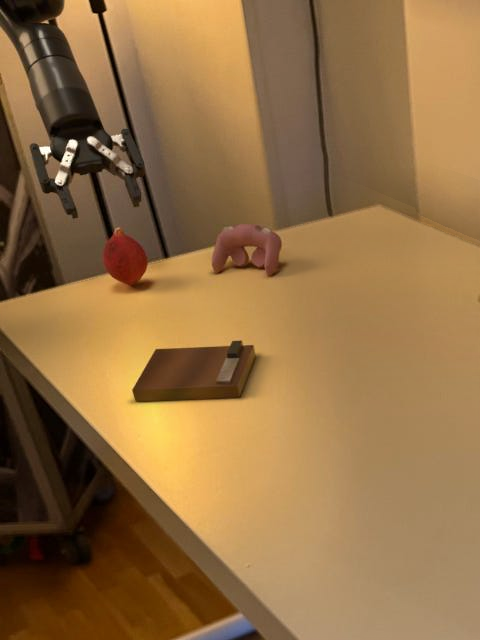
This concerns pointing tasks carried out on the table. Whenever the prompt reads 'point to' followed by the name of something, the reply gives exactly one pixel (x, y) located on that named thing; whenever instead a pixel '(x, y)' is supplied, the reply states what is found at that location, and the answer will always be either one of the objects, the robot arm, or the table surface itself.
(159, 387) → the cutting board
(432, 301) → the table surface
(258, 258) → the video game controller
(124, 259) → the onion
